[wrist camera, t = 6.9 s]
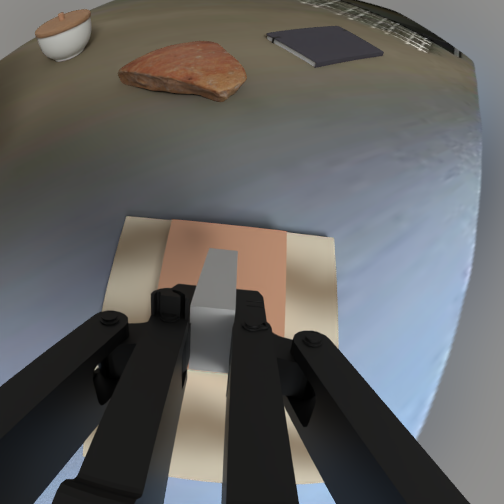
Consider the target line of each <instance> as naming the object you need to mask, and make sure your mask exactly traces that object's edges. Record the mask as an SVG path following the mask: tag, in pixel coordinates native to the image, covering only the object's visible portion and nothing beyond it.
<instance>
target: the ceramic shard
mask: <svg viewBox="0 0 504 504" xmlns="http://www.w3.org/2000/svg"><path fill="white" fill-rule="evenodd" d="M118 76H119V78H120V80H121V82H122V83H124V84H126V85H129V86H135V87H140V88H144V89H149V90H154V91H156V90H158V91H167V92H171V93H180V94H196V95H201V96H203V97H206V98H209V99H211V100H213V101H217V102H223V101H225V100H226V99H228V98H229V97H230V96H231V95H233V94H235V93H236V92H237V90H238V89H239V88H240V86H241V85H242V84H243V83H244V82H245V81H246V79H247V76H246V72H245V70H244V68H243V67H242V65H241V64H240V63H239V62H238V61H237V60H236V59H235V58H234V57H233V56H232V55H230V54H229V53H227V51H226V50H225V49H223V48H222V47H221V46H220V45H219V44H217V43H214V42H209V41H195V42H188V43H182V44H176V45H171V46H167V47H164V48H161V49H157V50H155V51H152V52H150V53H148V54H146V55H144V56H142V57H139V58H137V59H135V60H134V61H132V62H130V63H128V64H127V65H125V66H124V67H122V68H121V69H120V70H119V72H118Z"/></svg>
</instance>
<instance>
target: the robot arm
mask: <svg viewBox="0 0 504 504" xmlns="http://www.w3.org/2000/svg"><path fill="white" fill-rule="evenodd" d="M237 259H238V251H234V250H224V249H214V248H209V251H208V253H207V256H206V259H205V262H204V265H203V268H202V271H201V274H200V277H199V280H198V283H197V286H196V285H187V284H177V285H175V286H174V287H172V288H161V289H157V290H155V291H153V292H152V293H151V316H150V318H149V320H148V322H144V323H128V317H127V316H126V315H125V314H123V313H121V312H118V311H114V310H111V311H110V310H107V311H103V312H99V313H97V314H95V315H94V316H93V317H91V318H90V319H88V320H87V321H86V322H84V323H83V324H82V325H80V326H79V327H78V328H76V329H75V330H73V331H72V332H71V333H69V334H68V335H67V336H65V337H64V338H63V339H61V340H60V341H59V342H57V343H56V344H55V345H53V346H52V347H51V348H49V349H48V350H47V351H46V352H44V353H43V354H42V355H40V356H39V357H38V358H36V359H35V360H34V361H32V362H31V363H30V364H29V365H27V366H26V367H25V368H23V369H22V370H21V371H20V372H18V373H17V374H16V375H15V376H13V377H12V378H11V379H9V380H8V381H7V382H6V383H4V384H3V385H2V386H1V387H0V504H34V502H35V501H36V500H37V499H38V497H39V496H40V495H41V494H42V493H43V491H44V490H45V489H46V488H47V486H48V485H49V484H50V483H51V482H52V480H53V479H54V478H55V477H56V476H57V474H58V473H59V472H60V471H61V469H62V468H63V467H64V466H65V465H66V463H67V462H68V461H69V460H70V459H71V457H72V456H73V455H74V454H75V453H76V451H77V450H78V449H79V448H80V446H81V445H82V444H83V443H84V442H85V440H86V439H87V438H88V437H89V436H90V434H91V433H92V432H93V431H94V430H95V428H96V427H97V426H98V425H99V426H98V428H97V430H96V432H95V435H94V437H93V439H92V442H91V444H90V447H89V449H88V451H87V454H86V456H85V459H84V461H83V463H82V466H81V468H80V471H79V473H78V475H77V477H76V478H74V479H66V480H65V481H63V482H62V483H61V484H60V486H59V488H58V490H57V492H56V494H55V497H54V499H53V502H52V504H164V498H165V492H166V486H167V480H168V475H169V469H170V463H171V458H172V453H173V447H174V442H175V437H176V432H177V426H178V421H179V416H180V411H181V406H182V401H183V397H184V392H185V387H186V382H187V367H188V363H189V369H191V370H200V371H209V372H218V373H228V380H227V390H226V414H225V434H224V455H223V478H222V502H221V504H299V501H298V494H297V487H296V481H295V474H294V467H293V461H292V454H291V448H290V441H289V434H288V428H287V421H286V415H285V409H286V411H287V413H288V415H289V417H290V419H291V421H292V423H293V425H294V427H295V428H296V430H297V432H298V434H299V436H300V438H301V440H302V442H303V444H304V446H305V448H306V449H307V451H308V453H309V455H310V457H311V459H312V461H313V463H314V464H315V466H316V468H317V470H318V472H319V474H320V476H321V477H322V479H323V481H324V483H325V485H326V487H327V488H328V490H329V492H330V494H331V496H332V497H333V499H334V501H335V503H336V504H470V503H469V502H468V501H467V500H466V499H465V497H464V496H463V495H462V494H461V493H460V491H459V490H458V489H457V488H456V487H455V485H454V484H453V483H452V482H451V481H450V480H449V478H448V477H447V476H446V475H445V474H444V473H443V471H442V470H441V469H440V468H439V467H438V465H437V464H436V463H435V462H434V461H433V459H431V457H430V456H429V455H428V454H427V453H426V451H425V450H424V449H423V448H422V447H421V445H420V444H419V443H418V442H417V441H416V439H415V438H414V437H413V436H412V435H411V434H410V432H409V431H408V430H407V429H406V428H405V427H404V425H403V424H402V423H401V422H400V421H399V419H398V418H397V417H396V416H395V415H394V414H393V412H392V411H391V410H390V409H389V408H388V407H387V405H386V404H385V403H384V402H383V401H382V400H381V398H380V397H379V396H378V395H377V394H376V393H375V391H374V390H373V389H372V388H371V387H370V385H369V384H368V383H367V382H366V381H365V380H364V378H363V377H362V376H361V375H360V374H359V373H358V371H357V370H356V369H355V368H354V367H353V366H352V364H351V363H350V362H349V361H348V360H347V359H346V357H345V356H344V355H343V354H342V353H341V352H340V350H339V349H338V348H337V347H336V346H335V345H334V343H333V342H332V341H331V340H330V339H329V338H328V337H327V336H326V335H324V334H321V333H319V332H317V331H311V330H310V331H300V332H298V333H296V334H295V335H294V337H293V340H292V339H288V338H284V337H281V336H278V335H276V334H274V333H273V332H272V327H271V325H270V324H269V323H268V322H267V319H266V313H265V306H264V299H263V296H262V295H261V294H260V293H259V292H258V291H253V290H243V289H236V283H237ZM97 365H98V368H97V369H96V370H95V368H96V367H97ZM284 407H285V409H284Z"/></svg>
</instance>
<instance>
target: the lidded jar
mask: <svg viewBox="0 0 504 504" xmlns="http://www.w3.org/2000/svg"><path fill="white" fill-rule="evenodd" d="M90 16H91V13H90V11H89V10H87V9H85V10H84V9H82V10H76V11H72V12H68V13H66V14H64V13H63V12H61V13H59V14H58V17H55V18H53V19H51V20H49V21H47V22H46V23H44V24H43V25H41V26H40V27H39V28H38V29H37V30H36V31H35V35H36V38H37V40H38V43H39V46H40V48H41V50H42V52H43V53H44V54H45V55H46V56H47V57H48V58H51V59H54V60H55V61H57V62H60V61H65V60H68V59H71V58H73V57H75V56H77V55H79V54H80V53H81V52H82V51H83V50H84V47H85V46H86V44H87V43H88V41H89V39H90V35H91V18H90Z"/></svg>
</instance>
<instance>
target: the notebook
mask: <svg viewBox="0 0 504 504" xmlns="http://www.w3.org/2000/svg"><path fill="white" fill-rule="evenodd" d="M267 39H268V40H270V41H271V42H272V43H275V44H277V45H279V46H280V47H282V48H284V49H286V50H287V51H289V52H291V53H293V54H294V55H296V56H298V57H299V58H301V59H303V60H304V61H306V62H308V63H309V64H311V65H312V66H314V68H316V67H321V66H326V65H331V64H336V63H341V62H346V61H352V60H358V59H364V58H370V57H377V56H383V53H384V52H383V51H381V50H380V49H378V48H377V47H375V46H373V45H372V44H370V43H368V42H366V41H365V40H363V39H361V38H360V37H358V36H356V35H354V34H352V33H351V32H349V31H347V30H345V29H343V28H341V27H339V26H327V27H313V28H303V29H294V30H285V31H278V32H271V33H267Z"/></svg>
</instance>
